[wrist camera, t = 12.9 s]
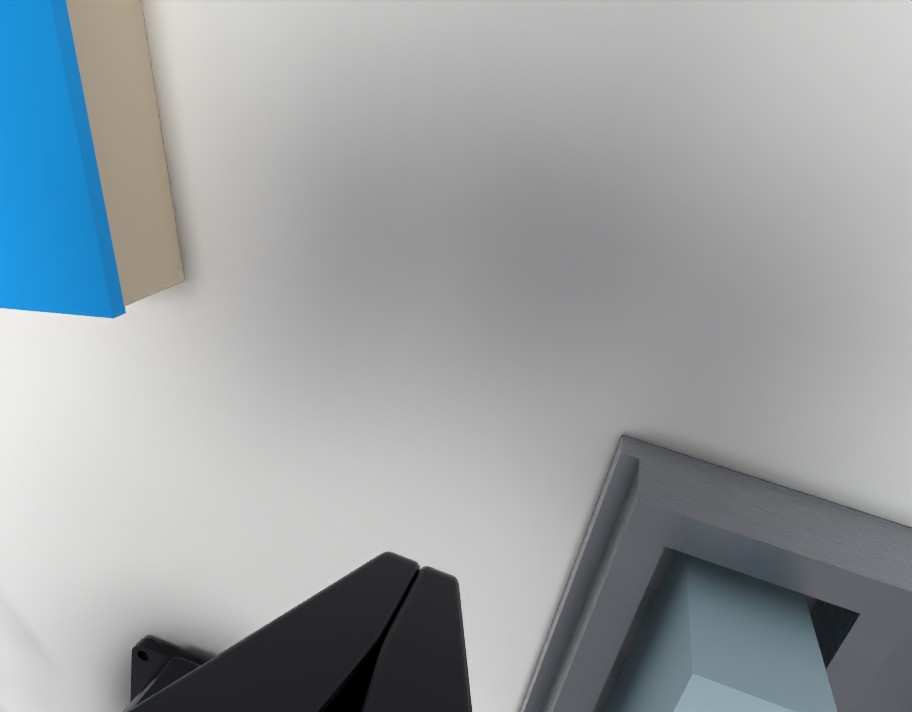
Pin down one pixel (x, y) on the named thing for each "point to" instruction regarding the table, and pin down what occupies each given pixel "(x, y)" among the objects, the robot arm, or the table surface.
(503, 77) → the table surface
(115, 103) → the book
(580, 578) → the rack
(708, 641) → the fitted panel
